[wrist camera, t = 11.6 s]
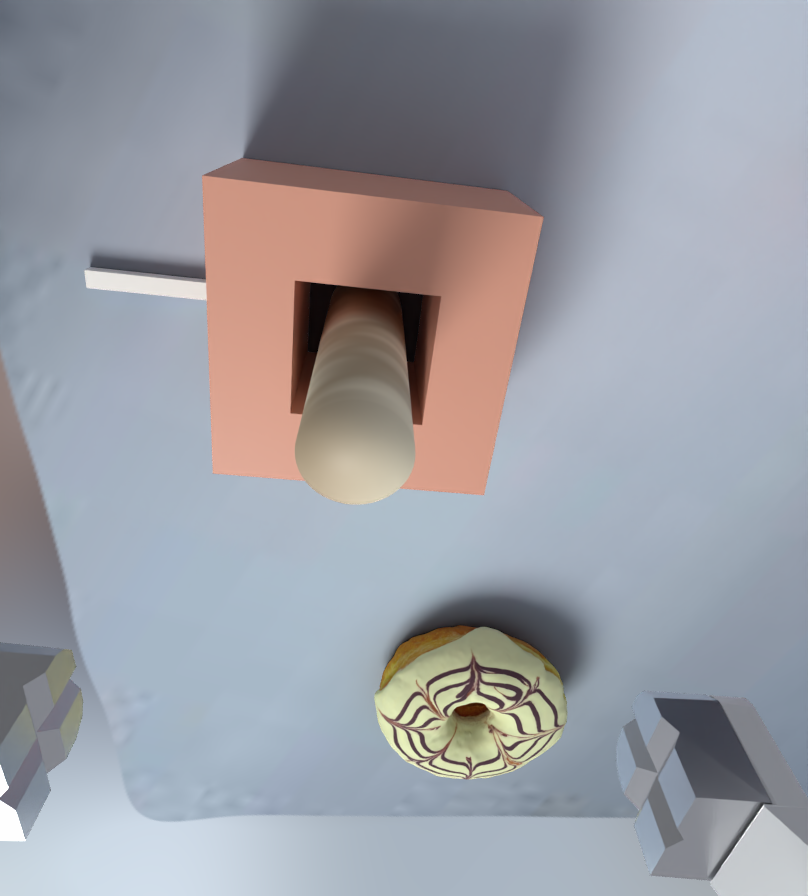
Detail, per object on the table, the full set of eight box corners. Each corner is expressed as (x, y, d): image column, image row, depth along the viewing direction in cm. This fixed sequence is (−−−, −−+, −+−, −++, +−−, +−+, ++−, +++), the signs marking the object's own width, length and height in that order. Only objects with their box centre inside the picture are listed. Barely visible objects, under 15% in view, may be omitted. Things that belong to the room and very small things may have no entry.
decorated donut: (477, 580, 34) (489, 632, 30) (589, 678, 38) (609, 733, 35) (341, 675, 37) (338, 732, 34) (458, 756, 41) (465, 813, 38)
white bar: (243, 283, 25) (240, 286, 25) (243, 300, 26) (241, 303, 25) (89, 267, 25) (84, 270, 24) (91, 284, 25) (86, 287, 25)
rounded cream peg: (405, 277, 25) (422, 405, 15) (397, 347, 27) (407, 508, 16) (331, 269, 25) (296, 394, 15) (327, 340, 27) (293, 500, 16)
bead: (507, 190, 24) (543, 217, 19) (464, 422, 29) (483, 495, 23) (242, 158, 23) (202, 175, 18) (244, 402, 28) (212, 473, 23)
